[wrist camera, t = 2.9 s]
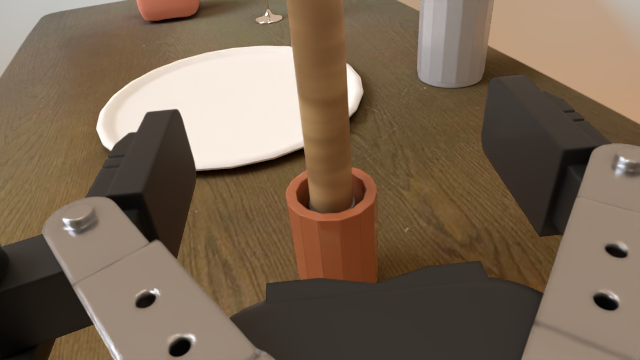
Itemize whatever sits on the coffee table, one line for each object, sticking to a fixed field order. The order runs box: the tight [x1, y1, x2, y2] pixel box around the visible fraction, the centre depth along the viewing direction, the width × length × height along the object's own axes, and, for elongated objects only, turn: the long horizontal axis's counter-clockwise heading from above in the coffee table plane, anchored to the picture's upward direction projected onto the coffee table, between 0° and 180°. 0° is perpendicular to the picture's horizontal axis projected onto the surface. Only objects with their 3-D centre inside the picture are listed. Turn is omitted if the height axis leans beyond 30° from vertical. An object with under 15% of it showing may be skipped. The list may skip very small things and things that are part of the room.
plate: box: [96, 46, 363, 171], centre depth 52 cm, size 29×29×1 cm
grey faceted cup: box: [417, 0, 494, 88], centre depth 51 cm, size 7×7×11 cm
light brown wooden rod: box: [286, 0, 355, 213], centre depth 24 cm, size 3×3×20 cm
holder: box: [286, 167, 378, 283], centre depth 28 cm, size 5×5×8 cm
